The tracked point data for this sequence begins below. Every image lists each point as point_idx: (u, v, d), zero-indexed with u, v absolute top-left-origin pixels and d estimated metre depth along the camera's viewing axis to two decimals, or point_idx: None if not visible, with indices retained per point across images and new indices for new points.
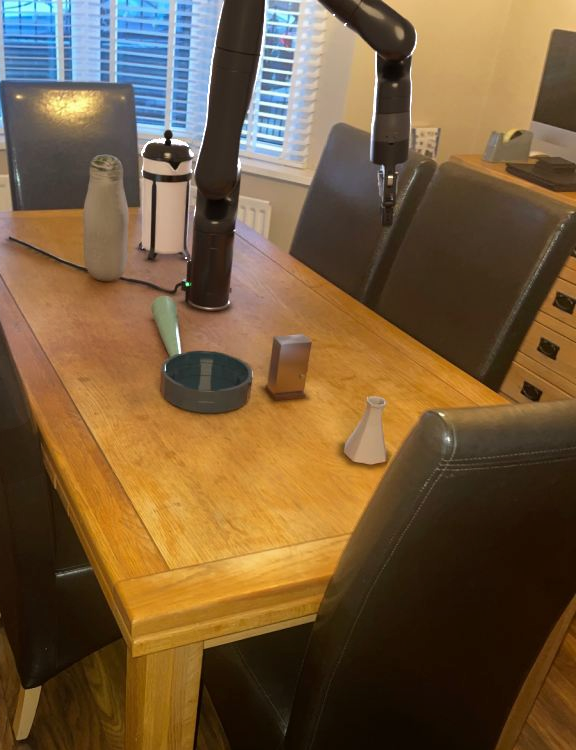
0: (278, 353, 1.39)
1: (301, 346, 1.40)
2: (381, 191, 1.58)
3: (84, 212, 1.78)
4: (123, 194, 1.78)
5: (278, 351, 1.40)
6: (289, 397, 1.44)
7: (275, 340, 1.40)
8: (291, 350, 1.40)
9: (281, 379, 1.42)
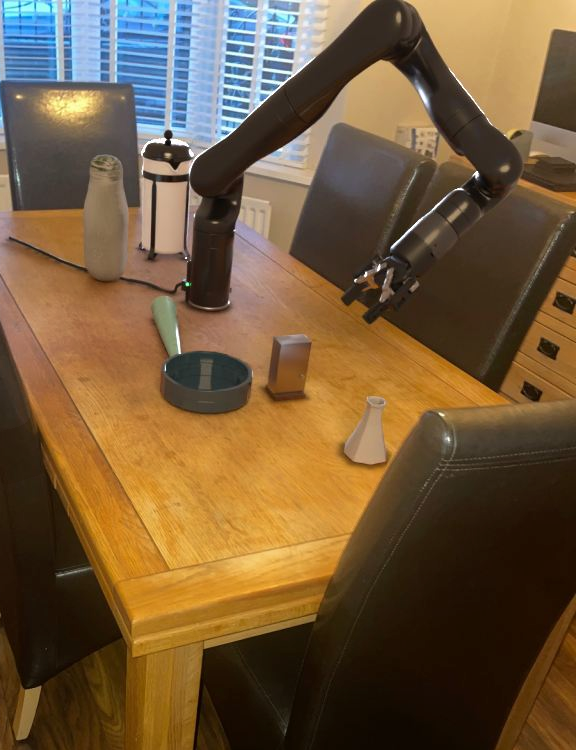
0: (279, 353, 1.39)
1: (301, 346, 1.40)
2: (389, 286, 1.36)
3: (84, 212, 1.78)
4: (123, 194, 1.78)
5: (278, 351, 1.40)
6: (289, 397, 1.44)
7: (275, 340, 1.40)
8: (291, 350, 1.40)
9: (281, 379, 1.42)
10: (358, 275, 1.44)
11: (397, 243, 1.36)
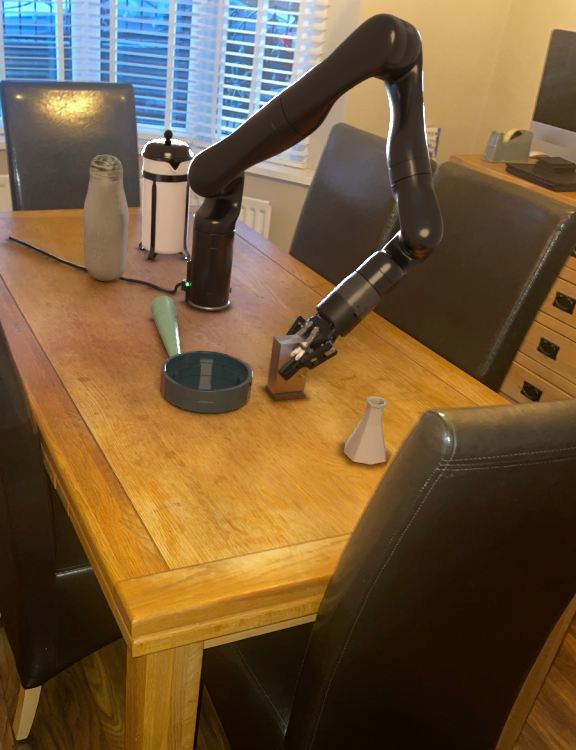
0: (278, 353, 1.39)
1: (301, 346, 1.40)
2: (307, 346, 1.39)
3: (84, 212, 1.78)
4: (123, 194, 1.78)
5: (278, 351, 1.40)
6: (289, 397, 1.44)
7: (275, 340, 1.40)
8: (291, 350, 1.40)
9: (281, 379, 1.42)
10: None
11: (322, 303, 1.39)
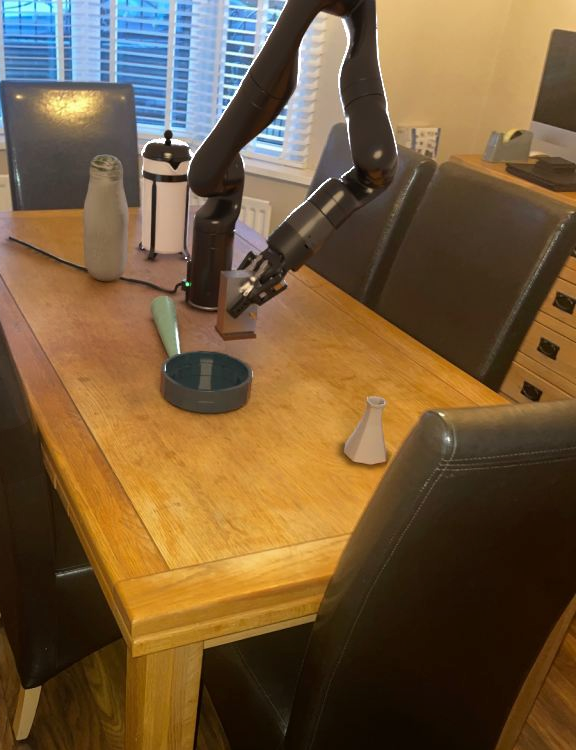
0: (226, 288, 1.31)
1: (249, 281, 1.31)
2: (256, 281, 1.30)
3: (84, 212, 1.78)
4: (123, 194, 1.78)
5: (225, 286, 1.31)
6: (239, 337, 1.36)
7: (223, 274, 1.31)
8: (239, 285, 1.31)
9: (230, 317, 1.34)
10: None
11: (271, 234, 1.30)
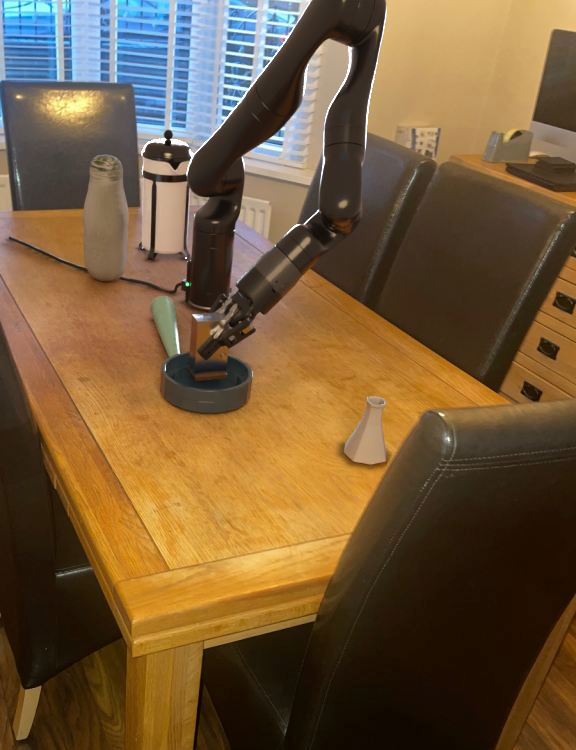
0: (196, 331, 1.34)
1: (219, 324, 1.35)
2: (226, 324, 1.34)
3: (84, 212, 1.78)
4: (123, 194, 1.78)
5: (196, 329, 1.35)
6: (210, 377, 1.39)
7: (193, 318, 1.35)
8: (209, 328, 1.35)
9: (201, 358, 1.37)
10: None
11: (240, 279, 1.34)
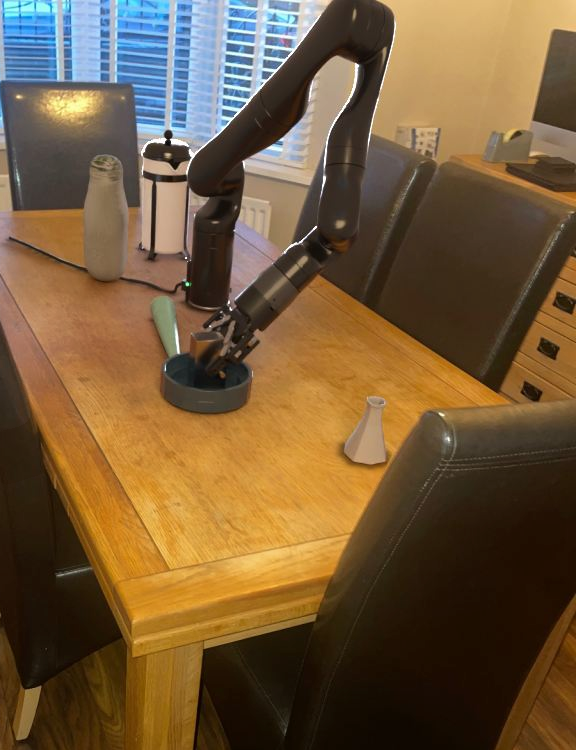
0: (195, 350, 1.37)
1: (218, 343, 1.37)
2: (229, 340, 1.35)
3: (84, 212, 1.78)
4: (123, 194, 1.78)
5: (195, 348, 1.37)
6: None
7: (192, 337, 1.37)
8: (208, 347, 1.37)
9: (200, 377, 1.40)
10: (207, 325, 1.43)
11: (238, 296, 1.36)
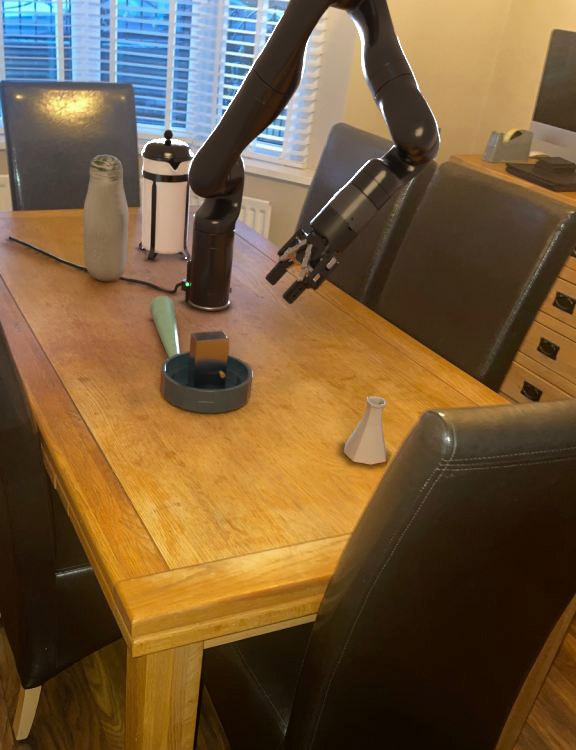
0: (195, 350, 1.37)
1: (218, 343, 1.37)
2: (307, 264, 1.33)
3: (84, 212, 1.78)
4: (123, 194, 1.78)
5: (195, 348, 1.37)
6: None
7: (192, 337, 1.37)
8: (208, 347, 1.37)
9: (200, 377, 1.40)
10: (282, 253, 1.40)
11: (315, 218, 1.33)
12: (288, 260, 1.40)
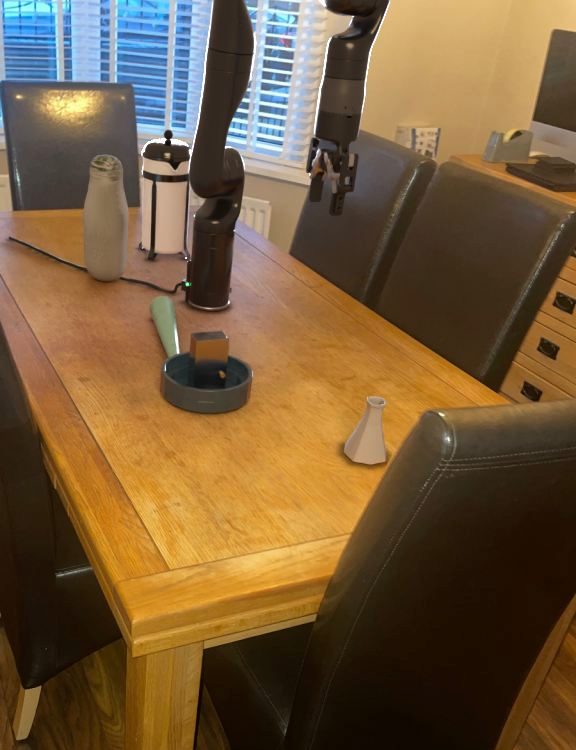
0: (195, 350, 1.37)
1: (218, 343, 1.37)
2: (333, 173, 1.33)
3: (84, 212, 1.78)
4: (123, 194, 1.78)
5: (195, 348, 1.37)
6: None
7: (192, 337, 1.37)
8: (208, 347, 1.37)
9: (200, 377, 1.40)
10: (310, 169, 1.41)
11: (315, 128, 1.32)
12: (318, 171, 1.41)
